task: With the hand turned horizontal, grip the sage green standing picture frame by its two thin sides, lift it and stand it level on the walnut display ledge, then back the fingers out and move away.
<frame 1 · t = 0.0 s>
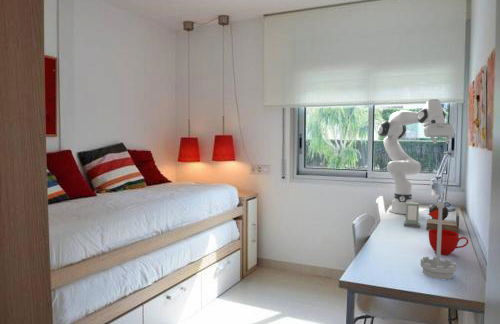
hand: (441, 143, 237), 52 cm above the table, tool tilted 20°, fingers open, 8 cm apart
picture frame: (411, 225, 236), on the table
ceramic cup: (447, 253, 180), on the table
alarm clock: (438, 222, 247), on the table
display ledge: (442, 228, 229), on the table
flag stand: (437, 274, 152), on the table
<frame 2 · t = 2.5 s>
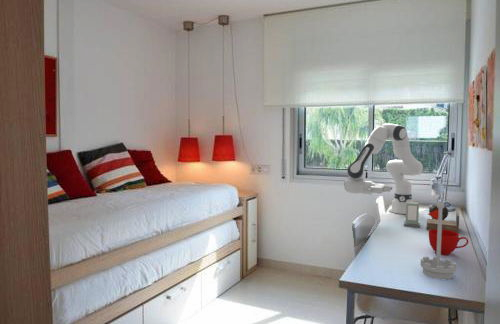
hand: (391, 189, 241), 22 cm above the table, tool horizontal, fingers open, 8 cm apart
nothing on the table moved.
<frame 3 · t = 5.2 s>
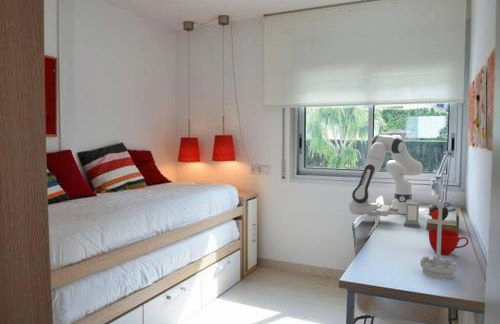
hand: (397, 211, 240), 8 cm above the table, tool horizontal, fingers open, 8 cm apart
nothing on the table moved.
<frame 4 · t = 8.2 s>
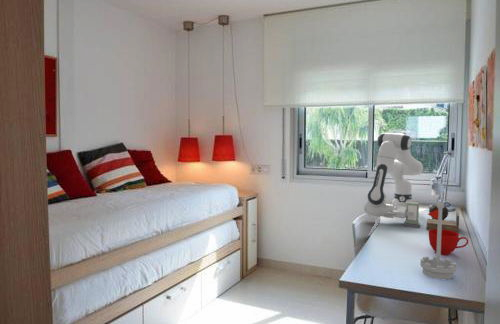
hand: (413, 213, 235), 8 cm above the table, tool horizontal, fingers closed on picture frame, 4 cm apart
picture frame: (411, 225, 236), on the table, touching gripper
everything else where it was.
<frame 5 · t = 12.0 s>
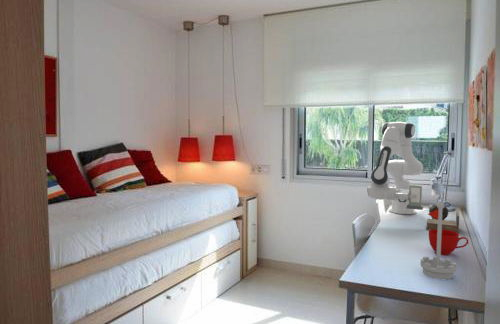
hand: (416, 195, 234), 19 cm above the table, tool horizontal, fingers closed on picture frame, 4 cm apart
picture frame: (414, 208, 235), point 11 cm above the table, touching gripper
everything else where it was.
when the fingers open (13 cm above the table, at t = 15.8 s): picture frame drops 1 cm, resting on display ledge.
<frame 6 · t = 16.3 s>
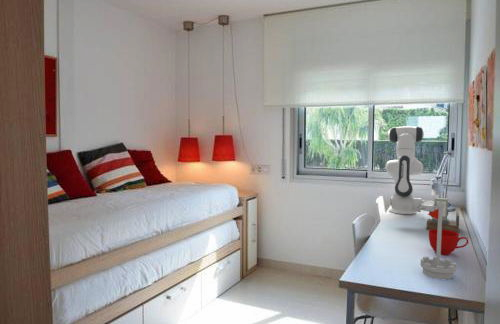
hand: (442, 206, 228), 13 cm above the table, tool horizontal, fingers open, 8 cm apart
picture frame: (440, 221, 229), point 4 cm above the table, touching display ledge
everything else where it was.
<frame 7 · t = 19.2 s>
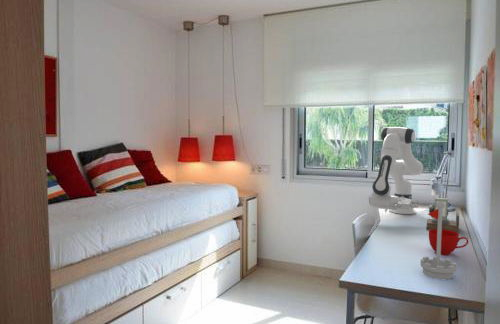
hand: (418, 204, 234), 14 cm above the table, tool horizontal, fingers open, 8 cm apart
nothing on the table moved.
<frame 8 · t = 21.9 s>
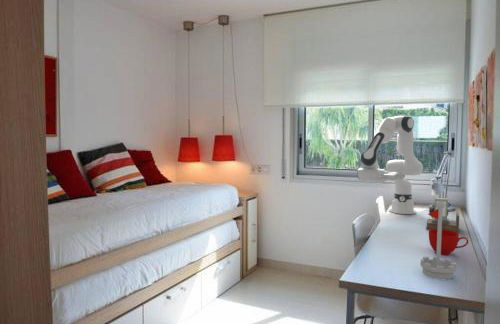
hand: (404, 176, 243), 30 cm above the table, tool horizontal, fingers open, 8 cm apart
nothing on the table moved.
at the end: picture frame inside the target area on the display ledge (1.1 cm from its centre), point 4.0 cm above the display ledge's base; picture frame tilted 0°; the gripper is holding nothing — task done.
